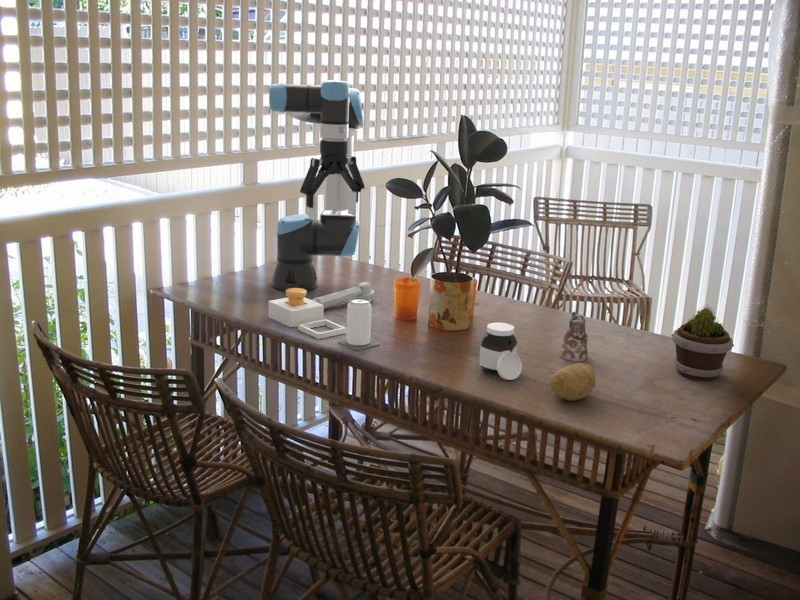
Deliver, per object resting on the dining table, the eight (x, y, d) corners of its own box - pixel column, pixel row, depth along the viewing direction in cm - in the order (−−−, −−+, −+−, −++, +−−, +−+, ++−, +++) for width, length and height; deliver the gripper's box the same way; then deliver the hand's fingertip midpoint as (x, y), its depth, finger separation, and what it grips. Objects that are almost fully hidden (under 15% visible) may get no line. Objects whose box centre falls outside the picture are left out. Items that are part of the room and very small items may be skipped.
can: (343, 344, 236) (344, 302, 233) (350, 337, 242) (352, 295, 239) (365, 347, 235) (367, 305, 231) (373, 340, 241) (374, 298, 237)
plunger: (298, 311, 260) (298, 286, 258) (310, 317, 256) (310, 291, 254) (281, 315, 257) (281, 289, 254) (293, 320, 252) (293, 294, 250)
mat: (361, 337, 244) (361, 335, 244) (379, 345, 238) (379, 344, 238) (337, 342, 239) (337, 341, 239) (356, 351, 233) (356, 349, 233)
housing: (299, 311, 264) (299, 295, 263) (348, 332, 247) (348, 315, 246) (268, 317, 257) (268, 300, 256) (316, 339, 240) (316, 322, 239)
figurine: (564, 361, 233) (569, 318, 229) (556, 352, 239) (560, 310, 236) (590, 360, 234) (595, 318, 230) (581, 351, 241) (585, 309, 237)
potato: (603, 394, 212) (607, 363, 210) (578, 412, 201) (581, 379, 199) (566, 384, 217) (570, 353, 215) (540, 400, 206) (543, 369, 204)
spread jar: (493, 361, 231) (497, 318, 227) (532, 371, 225) (536, 328, 221) (470, 373, 221) (473, 329, 218) (510, 385, 215) (513, 340, 212)
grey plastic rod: (302, 299, 264) (365, 276, 279) (304, 319, 266) (367, 295, 282) (313, 303, 260) (376, 279, 275) (315, 324, 263) (378, 299, 278)
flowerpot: (674, 359, 238) (684, 288, 232) (733, 372, 230) (745, 299, 225) (660, 375, 226) (670, 300, 220) (721, 389, 218) (734, 312, 213)
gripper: (304, 143, 227) (303, 223, 233) (378, 139, 243) (375, 214, 249) (287, 139, 232) (287, 218, 238) (361, 136, 248) (359, 210, 254)
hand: (332, 216), depth 244 cm, fingers open, 13 cm apart
